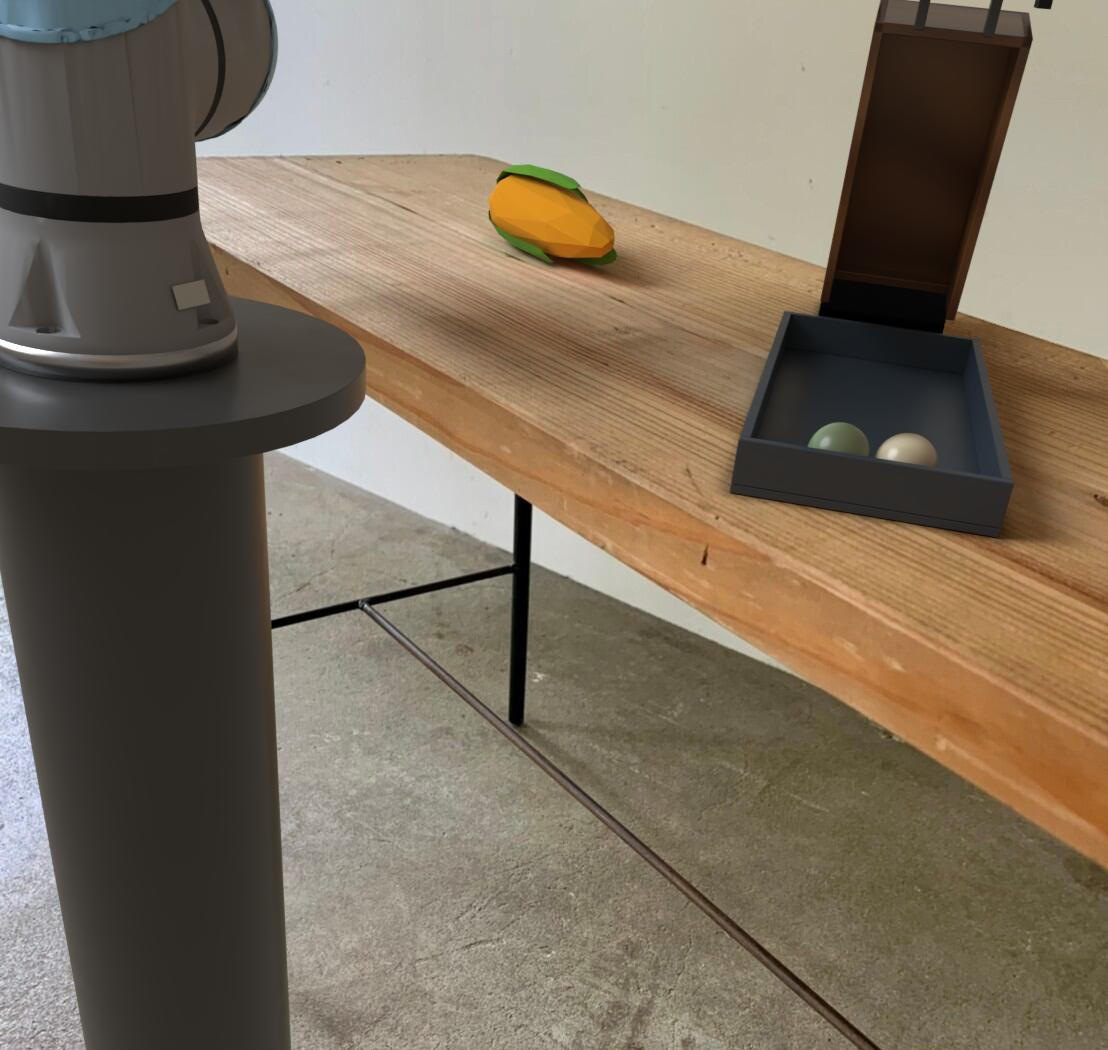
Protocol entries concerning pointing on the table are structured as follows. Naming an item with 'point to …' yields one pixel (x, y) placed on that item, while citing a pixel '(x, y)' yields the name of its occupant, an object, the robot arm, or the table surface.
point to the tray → (876, 424)
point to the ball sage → (841, 439)
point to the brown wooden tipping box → (927, 144)
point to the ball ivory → (908, 450)
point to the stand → (886, 305)
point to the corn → (549, 216)
